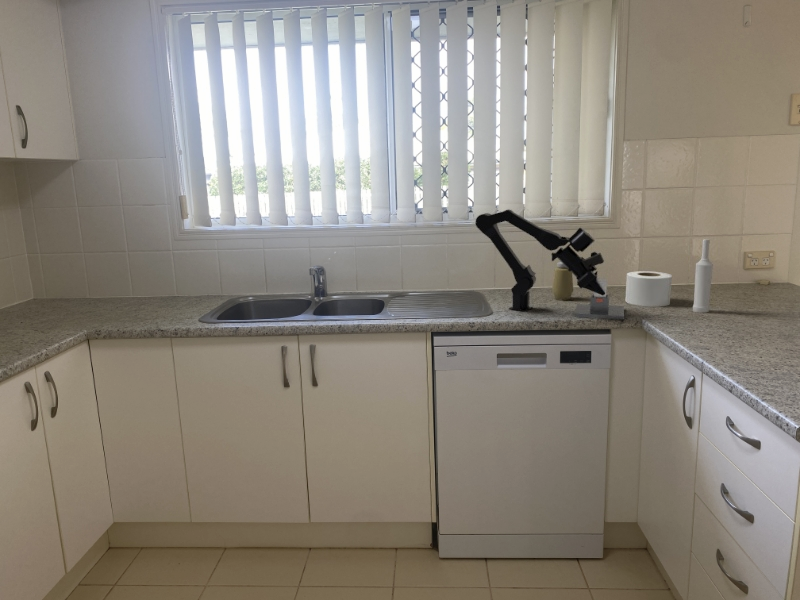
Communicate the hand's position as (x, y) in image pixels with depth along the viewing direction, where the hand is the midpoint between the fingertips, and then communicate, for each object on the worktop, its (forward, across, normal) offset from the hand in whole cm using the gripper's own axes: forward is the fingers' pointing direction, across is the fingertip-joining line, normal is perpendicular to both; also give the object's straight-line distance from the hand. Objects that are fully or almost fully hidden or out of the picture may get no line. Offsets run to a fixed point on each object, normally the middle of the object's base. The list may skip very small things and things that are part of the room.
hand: (604, 293), depth 201 cm
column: (+3, 0, +5) cm, 6 cm away
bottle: (+28, +10, -17) cm, 34 cm away
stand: (+4, 0, +6) cm, 7 cm away
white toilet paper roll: (+16, +22, -5) cm, 28 cm away
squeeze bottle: (-6, +22, +16) cm, 28 cm away
